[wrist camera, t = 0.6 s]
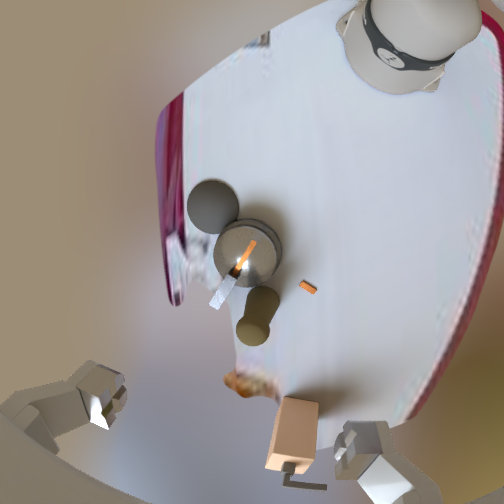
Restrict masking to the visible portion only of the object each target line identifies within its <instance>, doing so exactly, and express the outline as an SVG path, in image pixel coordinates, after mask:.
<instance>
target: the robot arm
mask: <svg viewBox="0 0 504 504" xmlns="http://www.w3.org/2000/svg"><path fill="white" fill-rule="evenodd" d="M491 1H492V2H493V3H494V4H495V5H496V6H497V7H498V8H499V9H500V10H501V11H502V12H503V13H504V0H491ZM345 22H347V24H346V23H345ZM481 26H482V14H481V9H480V6H479V2H478V0H364V1H359V2H358V3H357V5H356V7H355V8H354V9H353V10H351V11H350V12H349V13H348V14H346V15H345V16H344V17H343V18H342V19H340V20H339V21H338V22H337V24H336V30H337V32H338V33H339V35H340V36H341V38H342V39H343V42H344V47H345V53H346V57H347V59H348V61H349V63H350V65H351V67H352V68H353V70H354V71H355V72H356V74H357V75H358V76H359V77H360V78H361V79H362V80H363V81H365V82H366V83H367V84H369V85H370V86H372V87H374V88H376V89H378V90H380V91H382V92H386V93H390V94H397V95H401V94H408V93H411V92H415V91H424V92H434V91H435V90H437V88H438V84H439V80H440V77H441V76H442V75H443V74H444V73H445V71H444V67H445V63H447V62H448V61H449V60H450V58H451V57H452V56H453V55H454V53H455V51H457V50H458V49H460V48H462V47H463V46H465V45H466V44H468V43H470V42H471V41H473V40H474V39H475V38H476V37H477V36H478V34H479V32H480V30H481ZM124 382H125V378H124V375H123V374H122V373H119V372H117V371H114V370H112V369H110V368H108V367H105V366H103V365H101V364H99V363H96V362H94V361H92V360H88V361H86V362H85V363H84V364H83V365H82V366H81V367H80V368H79V369H78V370H77V371H76V372H75V373H74V374H73V375H72V376H71V377H70V378H69V379H68V380H67V381H66V382H65V381H59V382H54V383H50V384H46V385H42V386H38V387H34V388H29V389H25V390H20V391H16V392H14V393H13V394H12V395H11V396H10V397H9V398H8V399H7V400H6V401H4V402H3V403H2V404H1V405H0V504H152V503H149V502H146V501H144V500H141V499H139V498H136V497H134V496H131V495H129V494H127V493H124V492H122V491H120V490H118V489H115V488H113V487H111V486H109V485H107V484H105V483H103V482H101V481H99V480H97V479H95V478H93V477H91V476H90V475H88V474H86V473H84V472H82V471H81V470H79V469H77V468H75V467H74V466H72V465H70V464H69V463H67V462H65V461H64V460H62V459H61V458H59V457H58V456H56V454H57V453H58V452H59V450H60V449H59V446H58V445H57V443H56V441H55V440H54V438H55V437H57V436H60V435H62V434H64V433H67V432H69V431H71V430H73V429H76V428H78V427H80V426H82V425H84V424H87V423H89V422H90V421H92V422H93V423H95V424H98V425H100V426H102V427H104V428H106V429H109V428H110V426H111V425H112V423H113V422H114V421H115V419H116V415H115V413H116V412H119V411H121V410H122V409H123V407H124V406H125V403H126V400H127V390H126V388H125V387H124V386H123V383H124ZM334 457H335V458H336V459H337V460H338V462H337V463H336V465H335V475H336V480H357V481H358V483H359V484H360V485H361V487H362V488H363V489H364V490H365V492H366V493H367V494H368V496H369V497H370V498H371V499H372V501H373V502H374V503H375V504H444V503H443V499H442V496H441V493H440V489H439V486H438V485H437V484H436V483H435V482H434V481H433V480H431V479H430V478H429V477H428V476H427V475H425V474H424V473H423V472H422V471H421V470H419V469H418V468H417V467H416V466H415V465H413V464H412V463H411V462H410V461H409V460H407V458H405V457H404V456H403V455H402V454H401V453H396V449H395V446H394V443H393V439H392V436H391V432H390V429H389V426H388V423H387V422H386V421H347V422H346V423H345V424H344V426H343V432H342V433H340V434H339V435H338V436H337V438H336V441H335V444H334ZM466 504H504V486H503V487H502V488H499V489H497V490H495V491H493V492H491V493H489V494H487V495H485V496H482V497H480V498H478V499H475V500H473V501H470V502H468V503H466Z"/></svg>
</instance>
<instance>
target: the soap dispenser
mask: <svg viewBox="0 0 504 504" xmlns="http://www.w3.org/2000/svg"><path fill="white" fill-rule="evenodd" d="M318 409H319V403H318V402H312V401H306V400H300V399H295V398H289V397H283V399H282V402H281V405H280V407H279V410H278V412H277V415H276V419H275V424H274V429H273V434H272V439H271V443H270V448H269V452H268V457H267V461H266V466H265V468H267V469H272V470H278V471H281V472H280V475H281V476H284V477H283V482H282V487H283V488H290V489H298V490H308V491H319V492H325V491H326V490H327V485H326V484H314V483H304V482H296V481H289V479H290V477H292V476H293V474H294V473H298V474H303V473H304V472H305V470H307V468H308V467H309V466H310V465H311V463H312V462H313V461H314V460H315V452H316V440H317V426H318Z"/></svg>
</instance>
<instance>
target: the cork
mask: <svg viewBox="0 0 504 504" xmlns="http://www.w3.org/2000/svg"><path fill="white" fill-rule="evenodd" d="M279 303H280V300H279V296H278V295H277V293H276V292H275V291H274V290H272V289H271V288H268V287H265V286H259V287H255V288H253V289H252V290H251V291H250V292H249V293H248V295H247V300H246V305H245V311H244V316H243V317H242V318H241V319H240V320H239V321H238V324H237V326H236V334H237V337H238V338H239V340H240V341H241V342H243V343H244V344H246V345H248V346H258V345H261V344H263V343H264V342H265V341H266V340H267V338H268V337H269V333H270V327H269V324H270V322H271V320H272V318H273V316H274V314H275V313H276V311H277V309H278V307H279Z"/></svg>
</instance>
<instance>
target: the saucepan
mask: <svg viewBox="0 0 504 504" xmlns="http://www.w3.org/2000/svg"><path fill="white" fill-rule="evenodd" d="M213 257H214V263H215V266H216V268H217V270H218V272H219V273H220V274H221V276H222V277H223V278H224V280H223V282H222V284H221V285H220V287H219V289H218V290H217V292H216V293H215V295H214V297H213V299H212V300H211V302H210V303H209V305H210V306H212V307H214V308H215V309H217V310H218V309H219V308H220V306H221V304H222V303H223V301H224V300H225V298H226V297H227V295H228V294H229V292H230V291H231V289H232V287H233V286H234V285H236V286H239V287H255V286H258V285H260V284H262V283H264V282H265V281H266V280H268V279H269V277H270V276H271V275H272V273H273V271H274V268H275V265H276V262H277V248H276V245H275V243H274V241H273V239H272V238H271V237H270V235H269V234H268V233H267V232H266V231H264V230H263V229H261V228H259V227H257V226H254V225H249V224H241V225H236V226H234V227H231V228H230V229H228V230H227V231H226V232H225V233H224V234H223V235H222V236H221V237H220V238H219V239H218V241H217V242H216V244H215V247H214V252H213Z"/></svg>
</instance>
